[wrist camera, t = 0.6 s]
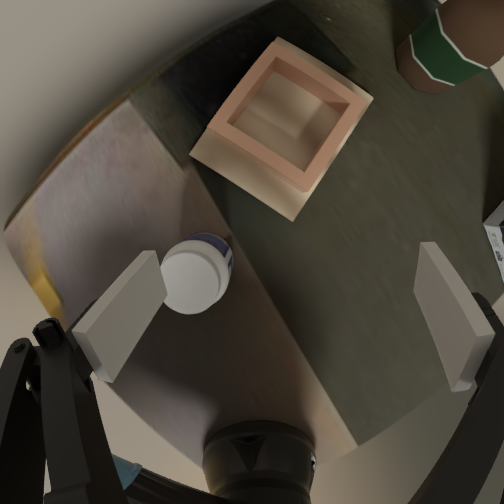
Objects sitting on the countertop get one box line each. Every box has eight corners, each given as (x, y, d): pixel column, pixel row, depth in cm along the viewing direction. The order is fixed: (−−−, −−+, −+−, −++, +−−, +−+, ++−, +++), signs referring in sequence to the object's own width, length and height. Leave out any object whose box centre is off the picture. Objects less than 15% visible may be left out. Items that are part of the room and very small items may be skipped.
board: (291, 221, 31) (292, 221, 30) (191, 156, 30) (188, 154, 29) (369, 101, 29) (373, 97, 28) (277, 41, 28) (277, 36, 27)
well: (301, 193, 30) (308, 191, 26) (211, 134, 29) (206, 126, 25) (355, 112, 29) (367, 102, 25) (270, 57, 28) (272, 41, 24)
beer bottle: (400, 30, 28) (508, -78, 4) (450, 64, 28) (576, -9, 5) (385, 73, 29) (518, -41, 5) (438, 108, 29) (593, 46, 6)
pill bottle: (169, 247, 32) (135, 265, 22) (217, 221, 31) (203, 229, 22) (195, 295, 33) (173, 332, 23) (243, 272, 32) (240, 302, 22)
